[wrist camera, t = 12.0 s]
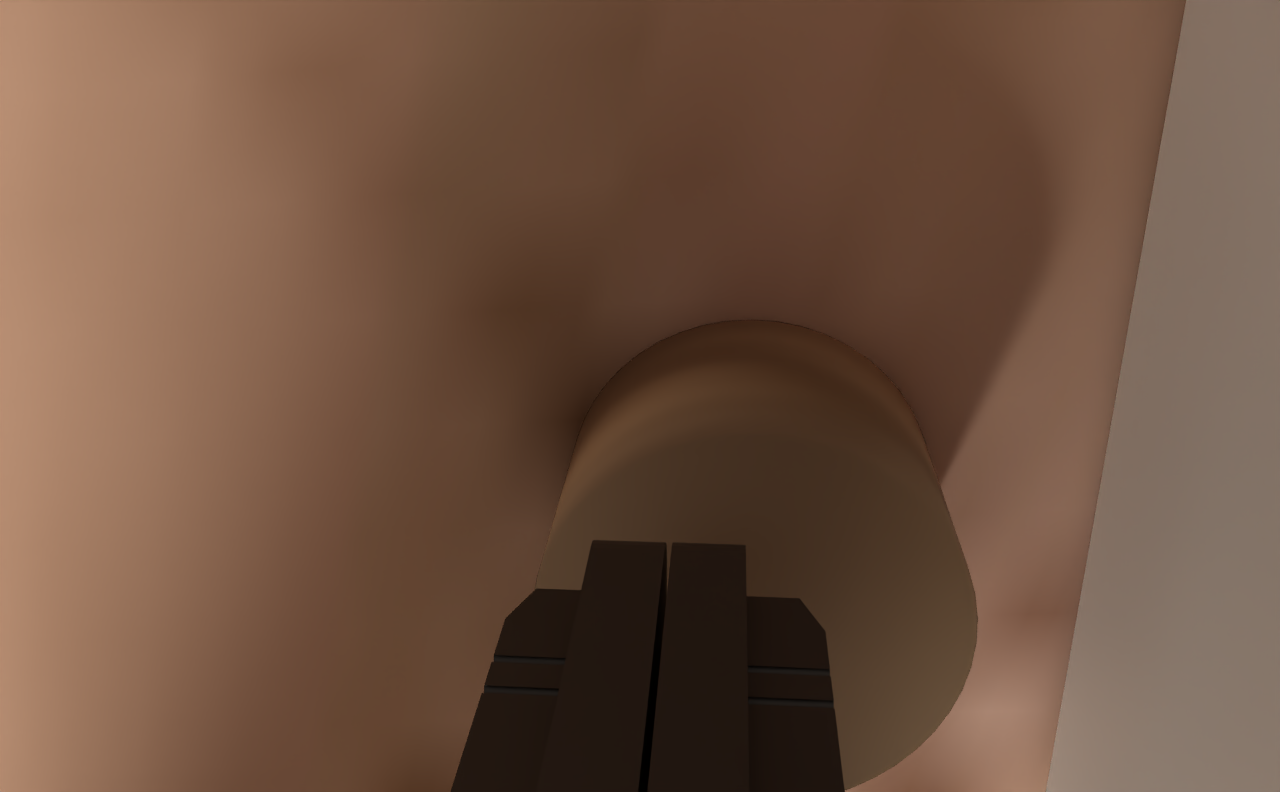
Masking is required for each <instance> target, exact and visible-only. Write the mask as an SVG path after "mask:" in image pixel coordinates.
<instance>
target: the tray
mask: <svg viewBox="0 0 1280 792" xmlns="http://www.w3.org/2000/svg"><path fill="white" fill-rule="evenodd" d="M1046 792H1280V0H1186V4H1185V10H1184V15H1183V21H1182V26H1181V32H1180V38H1179V43H1178V49H1177V55H1176V60H1175V66H1174V72H1173V77H1172V83H1171V89H1170V94H1169V100H1168V105H1167V111H1166V117H1165V122H1164V128H1163V134H1162V139H1161V145H1160V151H1159V156H1158V162H1157V167H1156V173H1155V179H1154V184H1153V190H1152V196H1151V201H1150V207H1149V213H1148V218H1147V224H1146V229H1145V235H1144V241H1143V246H1142V252H1141V258H1140V263H1139V269H1138V275H1137V280H1136V286H1135V292H1134V297H1133V303H1132V308H1131V314H1130V320H1129V325H1128V331H1127V337H1126V342H1125V348H1124V354H1123V359H1122V365H1121V370H1120V376H1119V382H1118V387H1117V393H1116V399H1115V404H1114V410H1113V416H1112V421H1111V427H1110V432H1109V438H1108V444H1107V449H1106V455H1105V461H1104V466H1103V472H1102V478H1101V483H1100V489H1099V495H1098V500H1097V506H1096V511H1095V517H1094V523H1093V528H1092V534H1091V540H1090V545H1089V551H1088V557H1087V562H1086V568H1085V573H1084V579H1083V585H1082V590H1081V596H1080V602H1079V607H1078V613H1077V619H1076V624H1075V630H1074V635H1073V641H1072V647H1071V652H1070V658H1069V664H1068V669H1067V675H1066V681H1065V686H1064V692H1063V697H1062V703H1061V709H1060V714H1059V720H1058V726H1057V731H1056V737H1055V743H1054V748H1053V754H1052V760H1051V765H1050V771H1049V776H1048V782H1047V788H1046Z"/></svg>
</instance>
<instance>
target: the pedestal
mask: <svg viewBox="0 0 1280 792" xmlns="http://www.w3.org/2000/svg"><path fill="white" fill-rule="evenodd" d="M593 540H613V541H642V542H666V544H667V589H668V579H669V568H670V558H671V548H672V543H673V542H678V543H706V544H735V545H746V593H747V596H755V597H781V598H800V599H801V601H802V602H803V603H804V604H805V606H806V607H807V608H808V610H809V611H810V612H811V613H812V615H813V616H814V617H815V619H816V620H817V621H818V622H819V624H820V625H821V626H822V627H823V629H824V630H825V631H826V639H827V648H828V656H829V664H830V676H831V681H832V689H833V698H834V709H835V715H836V723H837V731H838V740H839V748H840V756H841V765H842V773H843V781H844V790H847V789H850V788H852V787H855V786H857V785H859V784H861V783H864V782H866V781H868V780H870V779H873V778H875V777H876V776H878V775H880V774H881V773H883V772H885V771H886V770H888V769H890V768H892V767H893V766H895V765H897V764H898V763H899V762H901V761H902V760H903V759H904V758H906V757H907V756H908V755H910V754H911V753H912V752H914V751H915V750H916V749H917V748H918V747H919V746H920V745H921V744H922V743H923V742H924V741H925V740H926V739H927V738H928V737H929V736H931V735H932V734H933V733H934V732H935V730H936V729H937V728H938V726H939V725H940V724H941V723H942V721H943V720H944V719H945V717H946V716H947V715H948V714H949V712H950V711H951V709H952V707H953V705H954V704H955V702H956V700H957V698H958V697H959V695H960V693H961V691H962V689H963V687H964V684H965V682H966V679H967V676H968V674H969V671H970V669H971V665H972V661H973V656H974V652H975V647H976V640H977V623H978V616H977V607H976V597H975V591H974V588H973V584H972V580H971V576H970V573H969V569H968V566H967V563H966V560H965V557H964V554H963V552H962V549H961V546H960V543H959V540H958V537H957V534H956V531H955V528H954V525H953V522H952V520H951V517H950V514H949V511H948V508H947V505H946V502H945V499H944V496H943V493H942V490H941V488H940V485H939V482H938V479H937V476H936V473H935V470H934V467H933V464H932V461H931V458H930V456H929V453H928V450H927V447H926V444H925V441H924V438H923V435H922V432H921V430H920V427H919V425H918V423H917V421H916V418H915V416H914V414H913V412H912V410H911V408H910V407H909V405H908V403H907V402H906V400H905V399H904V397H903V396H902V394H901V392H900V391H899V390H898V389H897V388H896V386H895V385H894V384H893V383H892V382H891V381H890V379H889V378H888V377H887V376H886V375H885V374H884V373H883V372H882V371H881V370H880V369H879V368H877V367H876V366H875V365H874V364H873V363H872V362H871V361H870V360H868V359H867V358H866V357H864V356H863V355H861V354H860V353H858V352H857V351H855V350H854V349H852V348H851V347H849V346H847V345H845V344H843V343H841V342H839V341H837V340H835V339H833V338H831V337H829V336H827V335H825V334H822V333H819V332H816V331H813V330H810V329H807V328H804V327H800V326H795V325H791V324H786V323H781V322H772V321H760V320H743V321H727V322H721V323H714V324H708V325H704V326H700V327H697V328H693V329H690V330H687V331H683V332H681V333H678V334H676V335H674V336H671V337H669V338H667V339H665V340H662V341H660V342H658V343H657V344H655V345H653V346H652V347H650V348H648V349H647V350H645V351H643V352H642V353H640V354H639V355H637V356H636V357H635V358H634V359H632V360H631V361H630V362H629V363H627V364H626V365H625V366H624V367H622V368H621V369H620V370H619V371H618V372H617V374H616V375H615V376H614V377H613V378H612V379H611V380H610V381H609V382H608V383H607V384H606V385H605V387H604V388H603V389H602V391H601V392H600V394H599V395H598V396H597V398H596V399H595V401H594V402H593V404H592V406H591V408H590V410H589V412H588V413H587V415H586V417H585V419H584V421H583V424H582V427H581V430H580V433H579V435H578V438H577V441H576V445H575V448H574V452H573V455H572V458H571V462H570V465H569V469H568V472H567V476H566V479H565V483H564V486H563V490H562V493H561V496H560V500H559V503H558V507H557V510H556V514H555V517H554V521H553V524H552V527H551V531H550V534H549V538H548V541H547V545H546V548H545V552H544V555H543V559H542V562H541V565H540V569H539V572H538V576H537V581H536V586H535V590H536V589H537V588H539V589H565V590H581V588H582V583H583V579H584V574H585V570H586V565H587V561H588V556H589V552H590V547H591V544H592V541H593Z"/></svg>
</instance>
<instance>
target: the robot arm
mask: <svg viewBox="0 0 1280 792" xmlns="http://www.w3.org/2000/svg"><path fill="white" fill-rule="evenodd" d="M451 792H845V790H844V781H843V773H842V765H841V756H840V748H839V740H838V731H837V723H836V715H835V709H834V698H833V689H832V681H831V676H830V664H829V656H828V648H827V639H826V631H825V630H824V629H823V627H822V626H821V625H820V624H819V622H818V621H817V620H816V619H815V617H814V616H813V615H812V613H811V612H810V611H809V610H808V608H807V607H806V606H805V604H804V603H803V602H802V601H801V599H800V598H781V597H755V596H747V593H746V545H735V544H706V543H678V542H673V543H672V548H671V558H670V568H669V579H668V589H667V544H666V542H642V541H613V540H593V541H592V544H591V547H590V552H589V556H588V561H587V565H586V570H585V574H584V579H583V583H582V588H581V590H565V589H539V588H537V589H536V590H534V591H533V592H532V593H531V594H530V595H529V596H528V597H527V598H526V599H525V600H524V601H523V602H522V603H521V604H520V605H519V606H518V607H517V608H516V609H515V610H514V611H513V612H512V613H511V614H510V615H509V616H508V617H507V618H506V619H505V622H504V625H503V628H502V631H501V634H500V638H499V641H498V644H497V647H496V650H495V653H494V662H492V663H491V666H490V669H489V672H488V675H487V679H486V682H485V685H484V693H482V694H481V697H480V701H479V704H478V707H477V710H476V713H475V716H474V720H473V723H472V726H471V729H470V732H469V735H468V739H467V742H466V745H465V748H464V751H463V754H462V757H461V761H460V764H459V767H458V770H457V773H456V776H455V780H454V783H453V786H452V789H451Z"/></svg>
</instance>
